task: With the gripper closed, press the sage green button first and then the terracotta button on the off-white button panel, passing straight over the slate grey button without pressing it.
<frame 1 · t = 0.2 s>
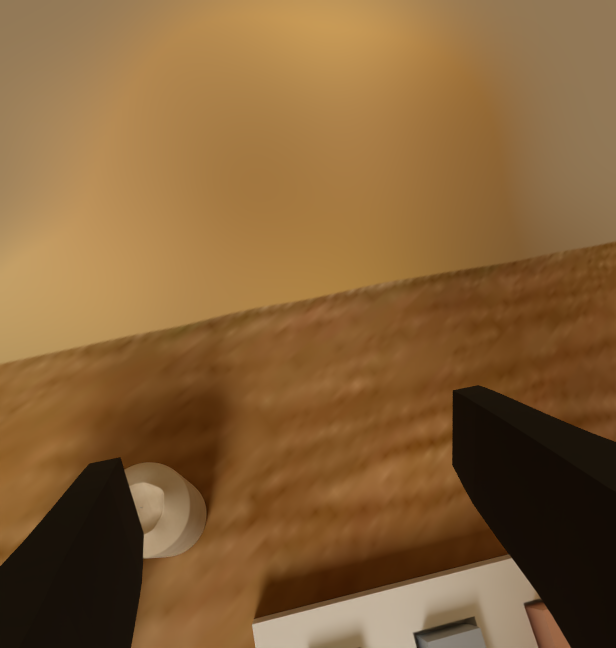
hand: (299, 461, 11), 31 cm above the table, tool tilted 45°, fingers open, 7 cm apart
terracotta button: (567, 631, 34), point 3 cm above the table, slide at 0.0 cm
candle: (171, 517, 39), on the table
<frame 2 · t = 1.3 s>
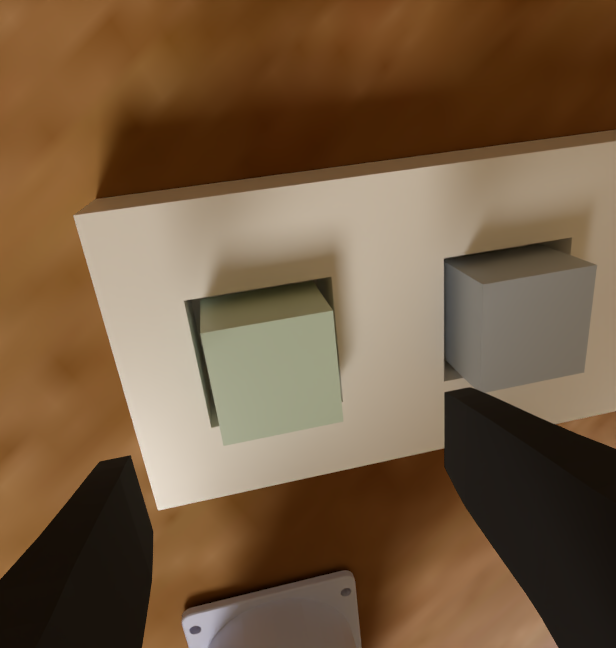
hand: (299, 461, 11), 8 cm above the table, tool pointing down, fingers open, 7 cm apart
button panel: (463, 285, 20), on the table
sage button: (270, 359, 16), point 3 cm above the table, slide at 0.0 cm
slate button: (511, 315, 17), point 3 cm above the table, slide at 0.0 cm
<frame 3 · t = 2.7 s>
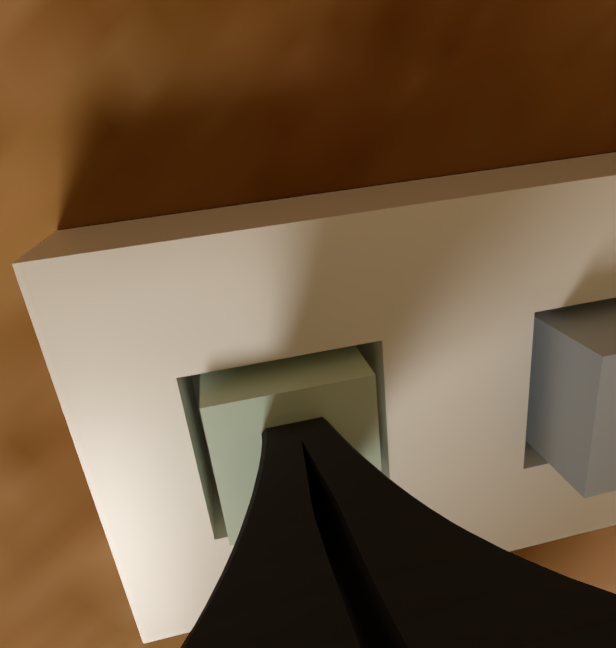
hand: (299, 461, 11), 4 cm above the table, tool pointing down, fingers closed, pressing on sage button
button panel: (537, 333, 15), on the table
sage button: (289, 427, 12), point 2 cm above the table, slide at 1.0 cm, touching gripper
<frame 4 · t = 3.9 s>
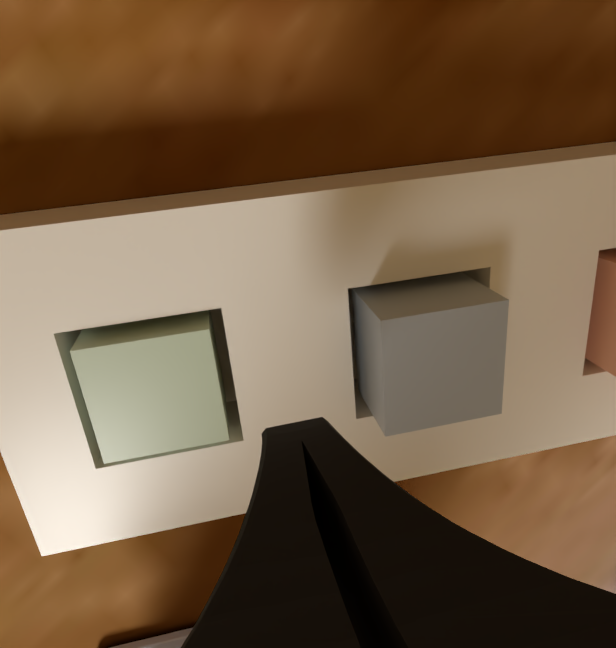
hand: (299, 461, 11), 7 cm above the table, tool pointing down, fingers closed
button panel: (388, 312, 18), on the table
sage button: (158, 375, 15), point 2 cm above the table, slide at 1.3 cm
slate button: (425, 349, 15), point 3 cm above the table, slide at 0.0 cm
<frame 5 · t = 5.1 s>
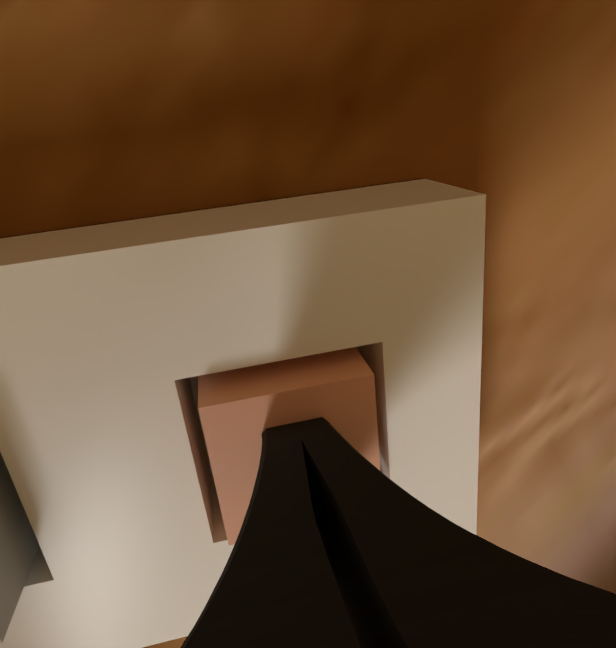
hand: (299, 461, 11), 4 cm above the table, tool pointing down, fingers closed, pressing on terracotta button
terracotta button: (288, 427, 12), point 2 cm above the table, slide at 1.1 cm, touching gripper
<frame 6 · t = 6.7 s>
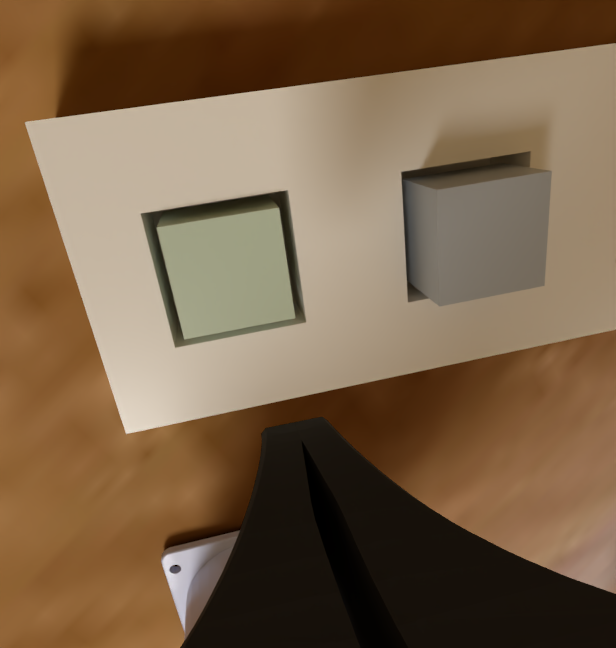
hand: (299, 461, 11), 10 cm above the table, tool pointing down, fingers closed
button panel: (430, 213, 20), on the table
sage button: (228, 263, 17), point 2 cm above the table, slide at 1.3 cm
slate button: (471, 231, 17), point 3 cm above the table, slide at 0.0 cm
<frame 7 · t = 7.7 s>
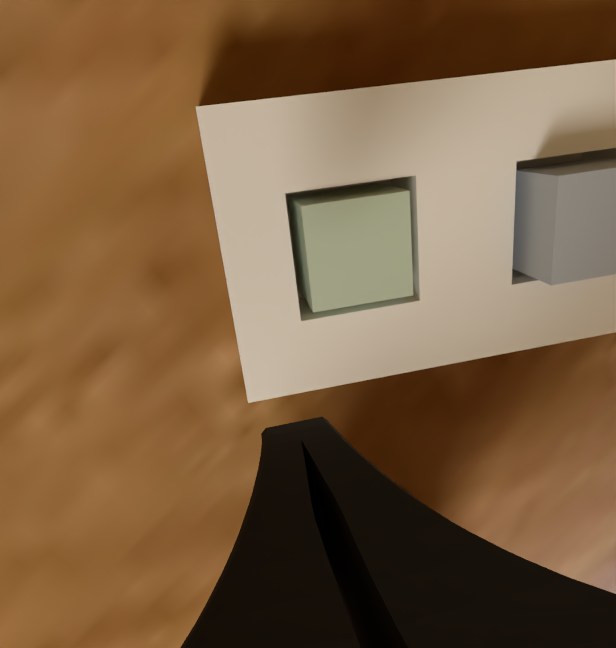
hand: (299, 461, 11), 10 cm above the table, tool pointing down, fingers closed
button panel: (522, 206, 21), on the table
sage button: (349, 244, 18), point 2 cm above the table, slide at 1.3 cm
slate button: (575, 218, 18), point 3 cm above the table, slide at 0.0 cm
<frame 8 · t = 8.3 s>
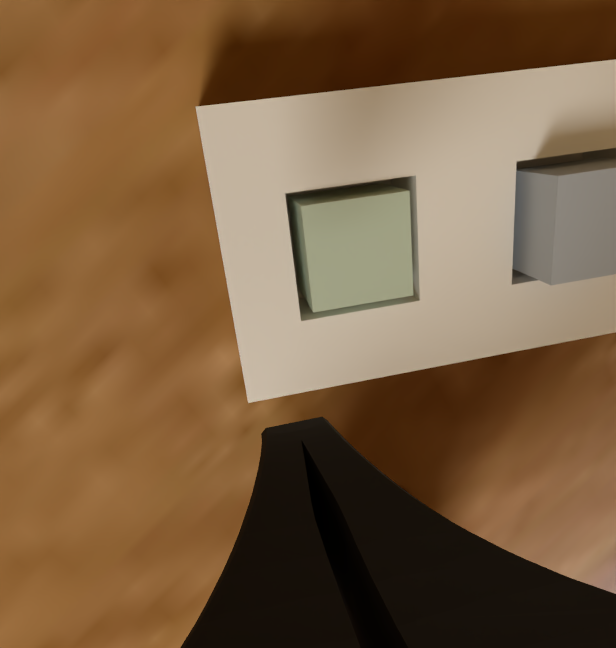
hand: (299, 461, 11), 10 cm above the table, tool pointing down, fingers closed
button panel: (522, 206, 21), on the table
sage button: (349, 244, 18), point 2 cm above the table, slide at 1.3 cm
slate button: (575, 218, 18), point 3 cm above the table, slide at 0.0 cm
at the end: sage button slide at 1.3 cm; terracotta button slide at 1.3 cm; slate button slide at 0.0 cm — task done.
